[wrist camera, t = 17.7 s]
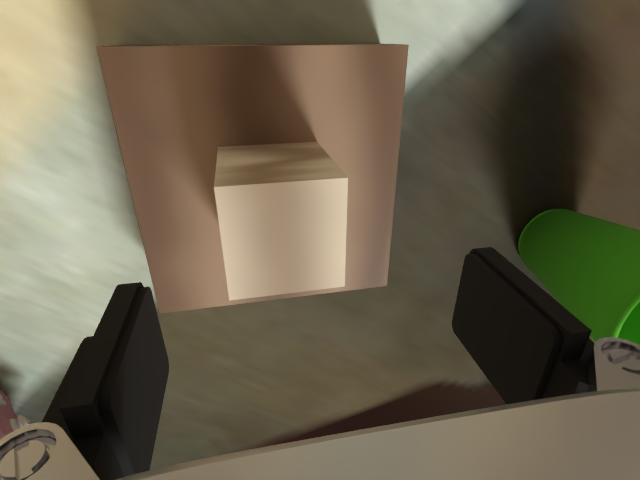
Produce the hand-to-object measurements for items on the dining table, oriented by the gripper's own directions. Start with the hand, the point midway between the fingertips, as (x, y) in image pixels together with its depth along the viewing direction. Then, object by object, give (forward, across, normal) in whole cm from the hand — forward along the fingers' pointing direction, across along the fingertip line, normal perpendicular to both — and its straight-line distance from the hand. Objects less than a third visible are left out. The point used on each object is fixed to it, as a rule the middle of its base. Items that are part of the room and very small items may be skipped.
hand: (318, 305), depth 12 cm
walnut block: (+15, +1, 0) cm, 15 cm away
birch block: (+11, 0, 0) cm, 11 cm away
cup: (+15, -21, +7) cm, 27 cm away
